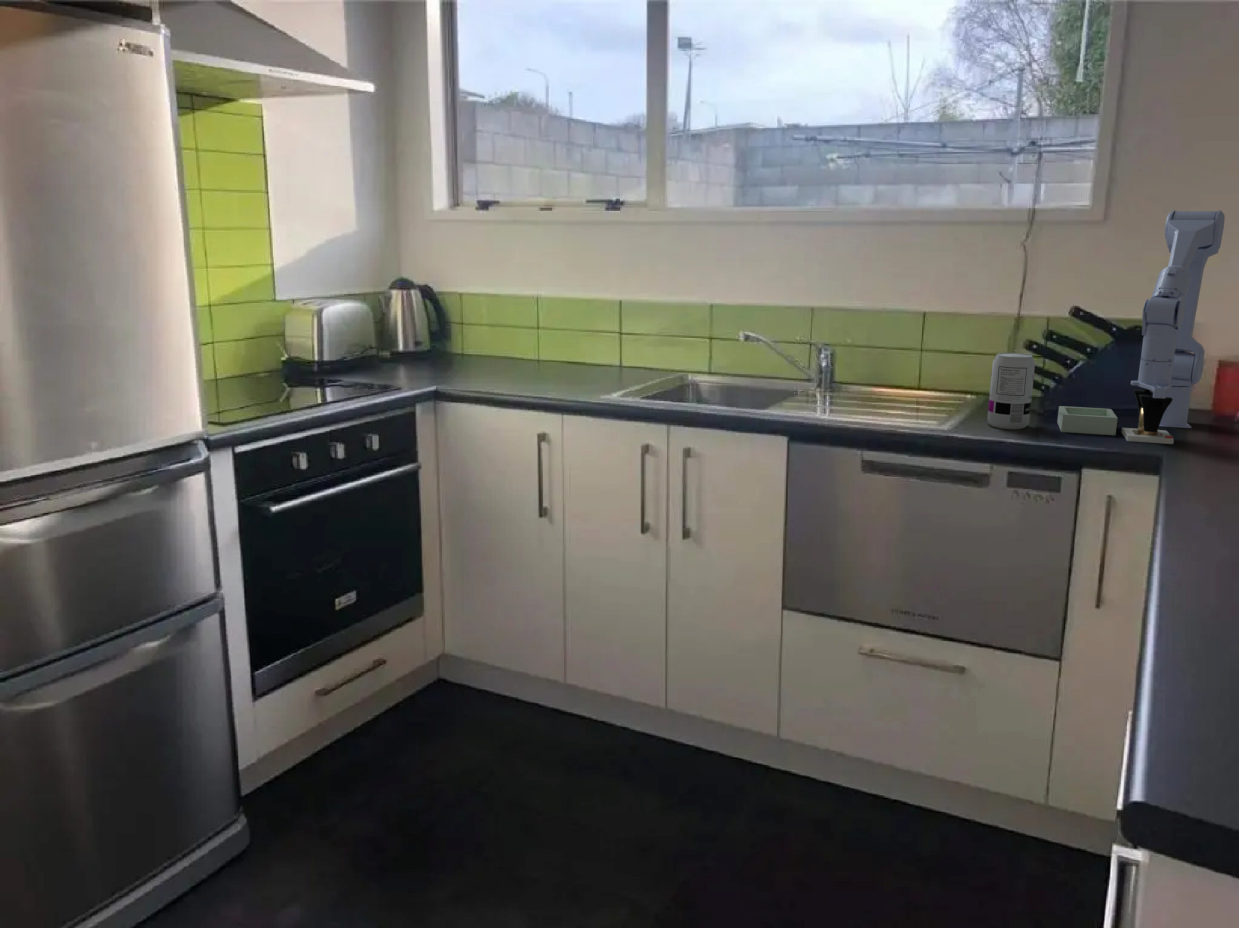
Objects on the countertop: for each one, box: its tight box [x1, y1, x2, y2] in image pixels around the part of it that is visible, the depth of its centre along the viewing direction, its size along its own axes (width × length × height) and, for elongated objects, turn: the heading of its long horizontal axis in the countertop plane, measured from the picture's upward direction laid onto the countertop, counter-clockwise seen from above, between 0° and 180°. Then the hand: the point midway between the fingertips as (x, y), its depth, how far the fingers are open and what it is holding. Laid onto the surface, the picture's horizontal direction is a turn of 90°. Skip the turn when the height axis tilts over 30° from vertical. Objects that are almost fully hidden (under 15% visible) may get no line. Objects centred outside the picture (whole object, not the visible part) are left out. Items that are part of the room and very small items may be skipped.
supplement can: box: [986, 352, 1036, 430], centre depth 210 cm, size 8×8×15 cm
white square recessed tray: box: [1121, 427, 1175, 445], centre depth 199 cm, size 8×8×2 cm
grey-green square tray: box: [1056, 405, 1118, 436], centre depth 207 cm, size 10×10×4 cm
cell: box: [1137, 407, 1159, 436], centre depth 198 cm, size 4×4×6 cm
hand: (1148, 428), depth 198 cm, fingers open, 5 cm apart
